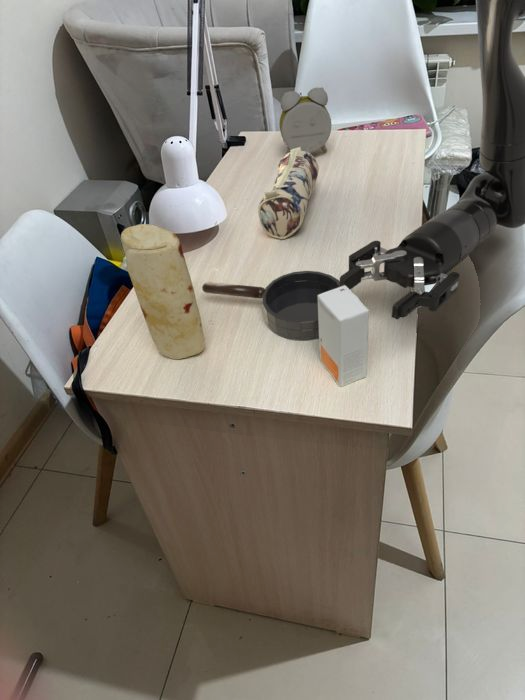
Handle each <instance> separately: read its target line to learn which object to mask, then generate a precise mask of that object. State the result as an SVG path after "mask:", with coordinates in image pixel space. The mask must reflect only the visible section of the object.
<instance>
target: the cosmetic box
mask: <svg viewBox="0 0 525 700" xmlns="http://www.w3.org/2000/svg"><path fill="white" fill-rule="evenodd" d="M369 320H370V309H369V308H368V307H366V306H365V304H364V303H363V302H362V301H361V299H360V298H359V297H358V296H357V295H356V294H354V292H353V291H352V290H351V289H350V290H349V288H348V287H347V286H345V285H344V286H341V287H338V288H336V289H333V290H330V291H327V292H324V293H322V294H319V295H318V322H319V339H318V344H319V345H318V346H319V347H318V348H319V361H320V363H321V364H322V365H323V366H324V368H325V369H326V371H328V372H329V374H330V375H331V377H332V378H333V380H334V381H335V382H336V384H337V385H338V387H340V388H342V387H344V386H347V385H349V384H352V383H354V382H357V381H360V380H362V379H365V378H366V377H367V367H368V366H367V364H368V345H369V344H368V343H369V324H370V323H369V322H370V321H369Z"/></svg>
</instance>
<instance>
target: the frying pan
mask: <svg viewBox="0 0 525 700" xmlns="http://www.w3.org/2000/svg"><path fill="white" fill-rule="evenodd" d="M338 287H340V279H338V278H336V277H335V276H333V275H331V274H328V273H325V272H321V271H315V270H300V271H292V272H290V273H285V274H283V275H280V276H279V277H276V278H275V279H273V280H272V281H270V283H269V284H267V285H266V287H265V288H264V289H265V292H264V293H263V294H262V298H261V304H262V305H261V306H262V312H263V313H262V314H263V319H264V321H265V324H266V326H267V327H268V329H269V330H270V331H271V332H272V333H274V334H276V335H277V336H279V337H281V338H283V339H286V340H287V339H288V340H292V341H299V342H300V341H302V342H303V341H305V342H306V341H314V340H317V339H318V340H319V322H318V295H319V294H322V293H324V292H327V291H330V290H333V289H336V288H338Z"/></svg>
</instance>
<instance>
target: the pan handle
mask: <svg viewBox="0 0 525 700" xmlns="http://www.w3.org/2000/svg"><path fill="white" fill-rule="evenodd" d="M201 289H202V291H203V293H205V294H213V295H221V296H232V297H239V298H240V297H241V298H251V299H260V300H262V294H263V293H264V292H265V288H264V287H262V286H253V285H244V284H235V283H234V284H233V283H223V282H222V283H221V282H212V281H205V282H204V283H202V285H201Z"/></svg>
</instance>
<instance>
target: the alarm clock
mask: <svg viewBox="0 0 525 700" xmlns="http://www.w3.org/2000/svg"><path fill="white" fill-rule="evenodd" d="M328 101H329V96H328V93H327V91H326V90H325V89H324V87H323V86H322V87H313V88H311V89H310V90H309V91H308V92H307V94H306V95H303V93H302V92H299V93H298V92H297V91H295V90H289V91H287V92H284V93H283V95H282V97H281V98H280V108H281V110H282V112H281V114H280V117H279V131H280V136H281V138H282V141H283V143H284V144H285V145H286V146H287V149H286V151H285V155H286V154H288V153H290V152H291V151H290V150H292V149H294V148H298V147H301V151H305V152H308V153H309V154H311V155H312V153H315V152H317V151H318V150H320V149H321V150H322V152H324V153H327V151H328V150H327V147H326V145H325V144H326V143H327V142H328V140H329V138H330V136H331V133H332V125H333V124H332V118H331V115H330V113H329V111H328V109H327V107H326V106H327V105H328ZM285 155H284V156H285Z"/></svg>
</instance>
